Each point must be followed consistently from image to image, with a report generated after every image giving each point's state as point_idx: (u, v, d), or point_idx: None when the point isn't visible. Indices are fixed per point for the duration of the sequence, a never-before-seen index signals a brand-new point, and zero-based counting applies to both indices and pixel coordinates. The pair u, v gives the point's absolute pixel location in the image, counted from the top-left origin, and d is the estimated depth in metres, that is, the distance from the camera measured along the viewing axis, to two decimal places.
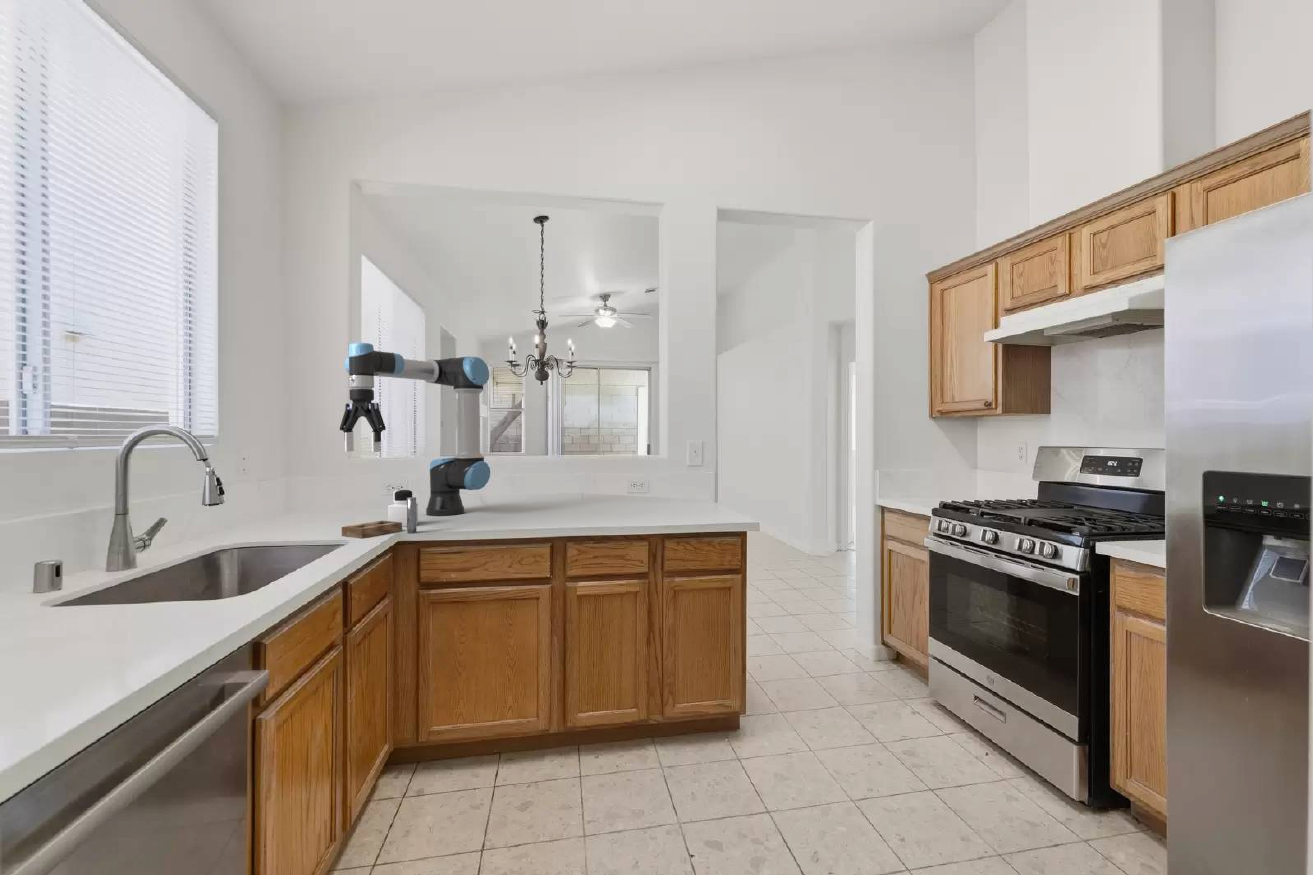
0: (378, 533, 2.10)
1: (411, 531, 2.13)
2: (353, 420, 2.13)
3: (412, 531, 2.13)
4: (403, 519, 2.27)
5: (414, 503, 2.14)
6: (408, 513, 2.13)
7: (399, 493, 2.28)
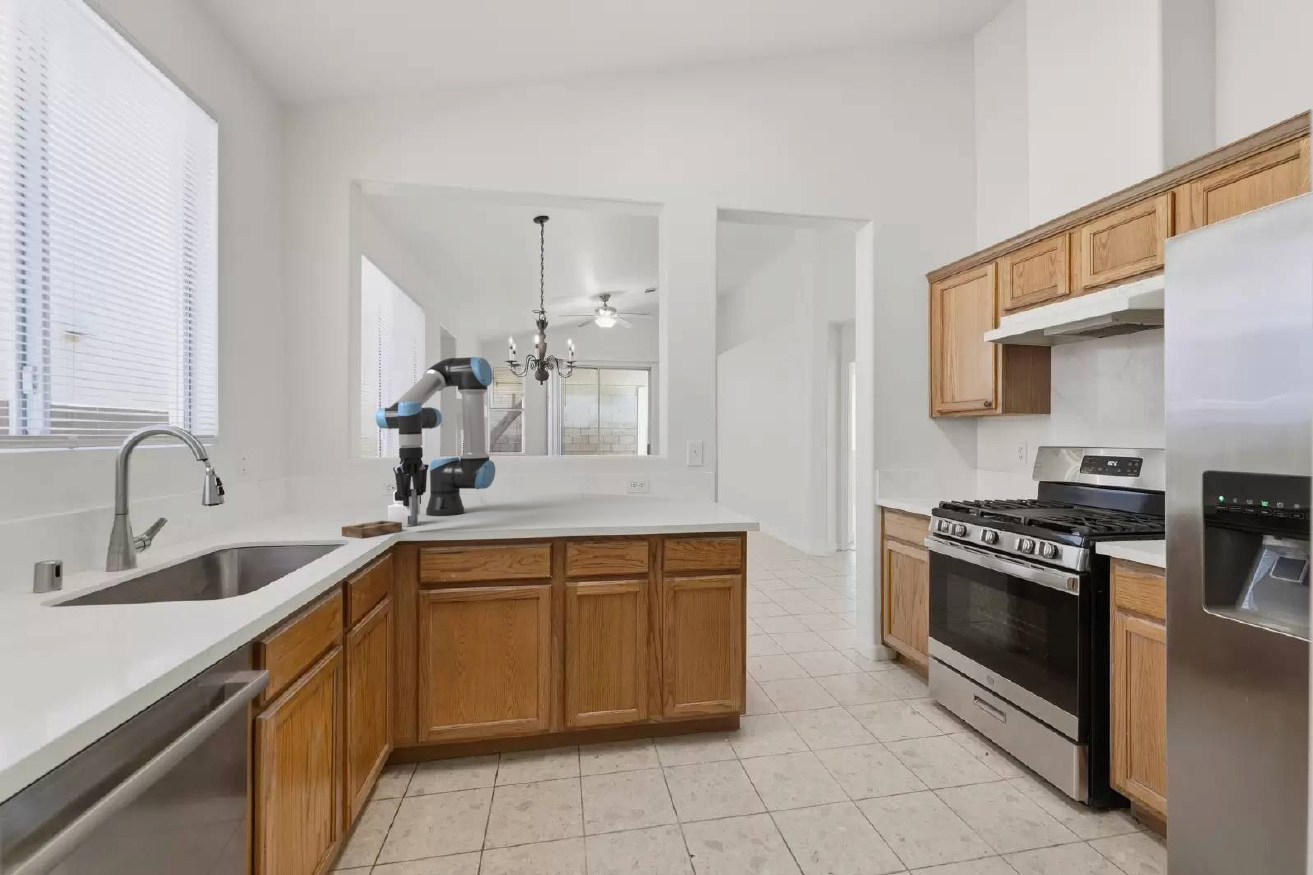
0: (378, 533, 2.10)
1: (412, 522, 2.14)
2: (414, 479, 2.16)
3: (413, 522, 2.14)
4: (403, 519, 2.27)
5: (415, 494, 2.14)
6: None
7: None
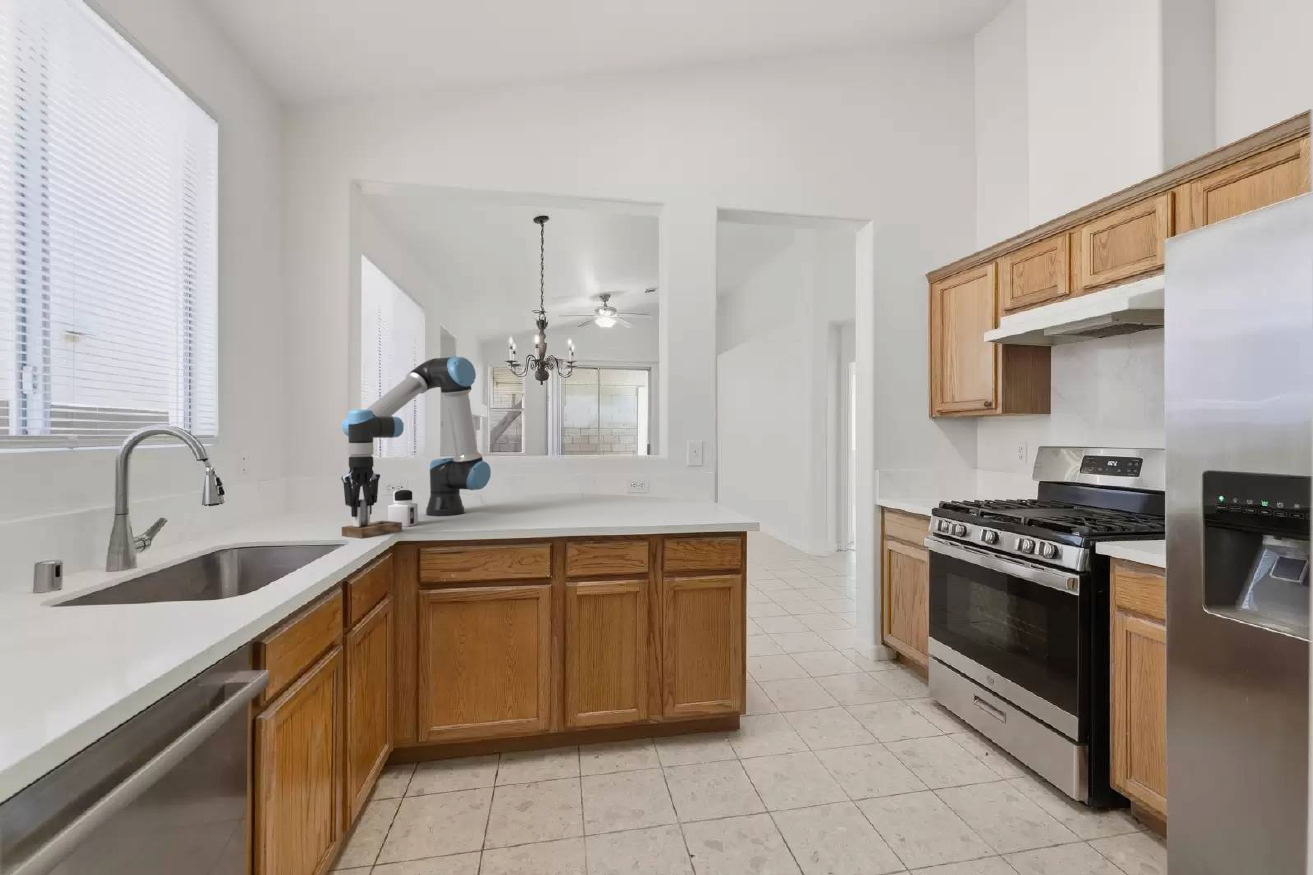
0: (378, 533, 2.10)
1: None
2: (364, 489, 2.11)
3: None
4: (403, 519, 2.27)
5: (364, 505, 2.09)
6: None
7: (399, 493, 2.28)
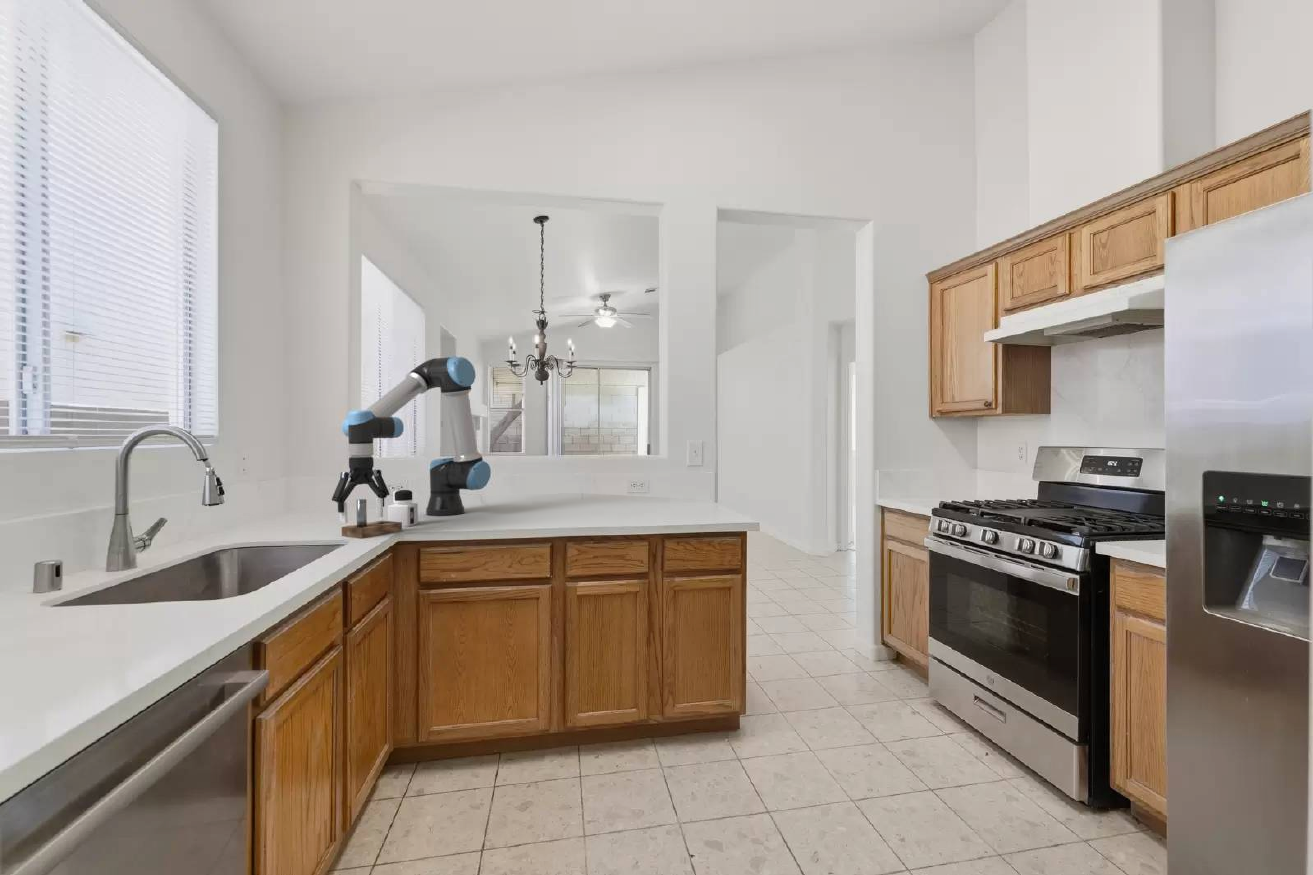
0: (378, 533, 2.10)
1: None
2: (371, 487, 2.14)
3: None
4: (403, 519, 2.27)
5: (364, 505, 2.09)
6: (358, 515, 2.08)
7: (399, 493, 2.28)
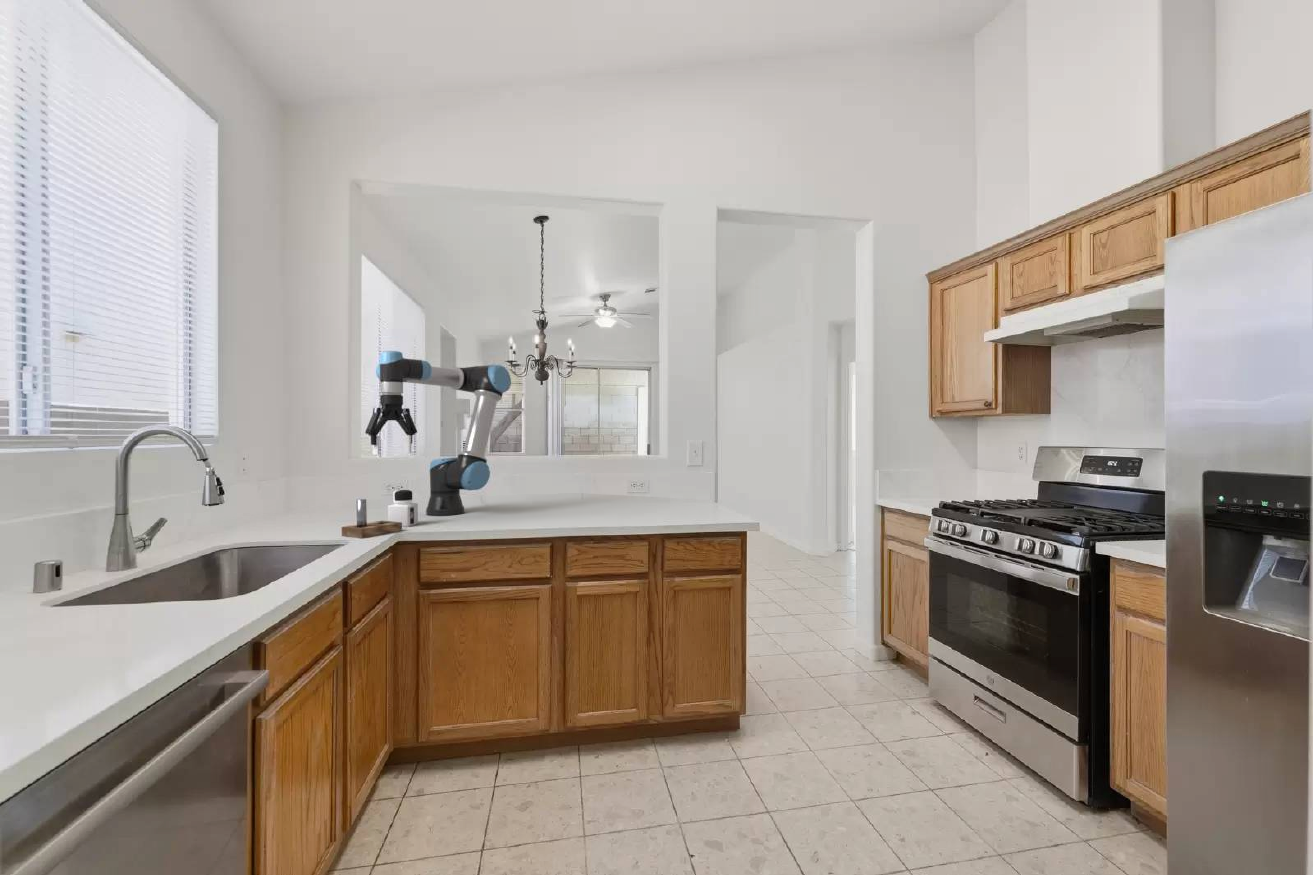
0: (378, 533, 2.10)
1: None
2: (400, 424, 2.28)
3: None
4: (403, 519, 2.27)
5: (364, 505, 2.09)
6: (358, 515, 2.08)
7: (399, 493, 2.28)
